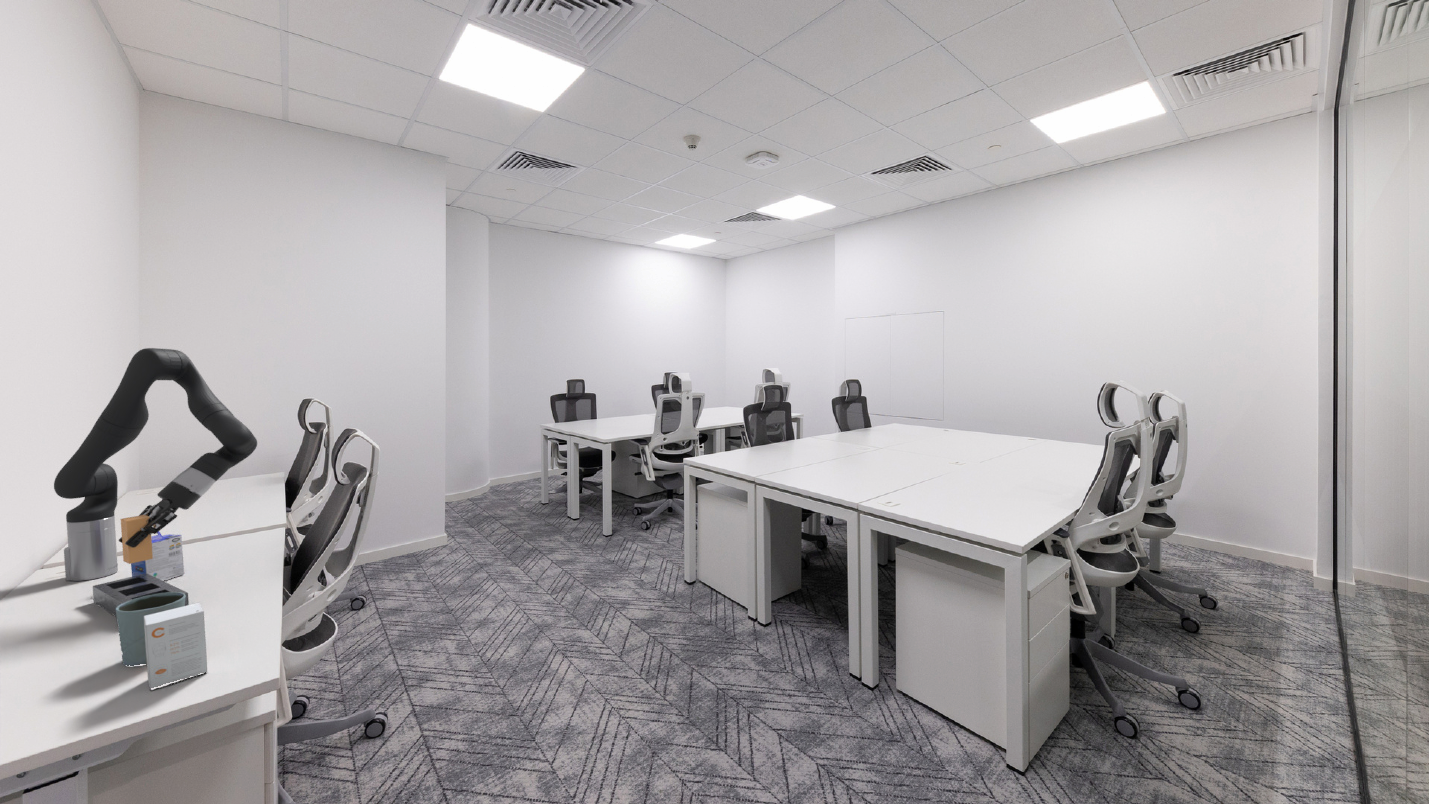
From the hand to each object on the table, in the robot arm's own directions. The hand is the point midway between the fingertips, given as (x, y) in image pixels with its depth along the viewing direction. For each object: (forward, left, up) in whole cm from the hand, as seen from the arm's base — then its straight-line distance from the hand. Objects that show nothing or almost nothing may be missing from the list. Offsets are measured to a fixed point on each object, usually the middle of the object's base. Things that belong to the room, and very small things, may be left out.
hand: (126, 544), depth 134 cm
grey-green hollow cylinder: (+19, -32, -17) cm, 41 cm away
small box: (+28, -44, -17) cm, 55 cm away
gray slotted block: (+1, +1, -17) cm, 17 cm away
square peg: (+1, +1, -5) cm, 5 cm away
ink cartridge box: (-5, +22, -17) cm, 28 cm away
